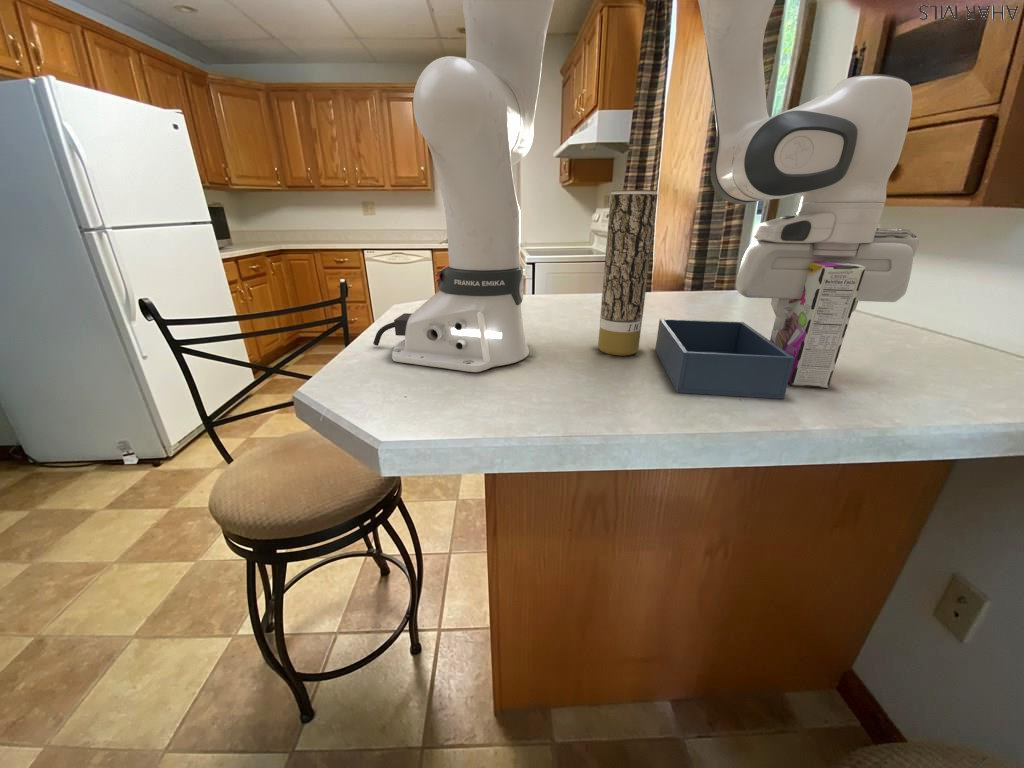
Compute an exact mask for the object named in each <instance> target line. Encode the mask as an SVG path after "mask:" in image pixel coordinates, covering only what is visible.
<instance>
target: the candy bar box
mask: <svg viewBox="0 0 1024 768" xmlns="http://www.w3.org/2000/svg"><path fill="white" fill-rule="evenodd" d="M865 269H866V267H864V266H862V265H858V264H854V263H849V262H836V261H816V262H811V263H810V265H809V268H808V270H809V271H808V275H807V278H806V282H805V286H804V290H803V293H802V296H801V299H789V303H788V306H787V307H784V306H783V309H784V312H785V315H786V316H788V317H789V318H791V319H792V323H791V325H790V326H791V327H790V330H777V329H775V328H774V324H775V321H774V322H773V327H772V331H771V335H770V338H769V340H770V341H771V342H772V343H774V344H775V345H777V346H778V347H780V348H781V349H782V350H784V351H785V352H787V353H788V354H790V355H791V356H793V357H794V358H795V360H794V363H793V367H792V371H791V374H790V378H789V381H788V384H789V385H791V386H795V387H806V388H821V389H823V388H825V389H828V388H829V386H830V383H831V380H832V376H833V374H834V370H835V368H836V364H837V361H838V359H839V355H840V352H841V348H842V345H843V342H844V339H845V336H846V332H847V329H848V326H849V322H850V320H851V317H852V313H853V312H852V310H853V307H854V304H855V300H856V297H857V294H858V290H859V287H860V284H861V281H862V278H863V275H864V271H865ZM775 319H776V316H775V317H774V320H775Z"/></svg>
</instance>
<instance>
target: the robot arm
mask: <svg viewBox="0 0 1024 768" xmlns="http://www.w3.org/2000/svg"><path fill="white" fill-rule="evenodd" d="M554 3H555V0H461V8H462V15H463V20H464V28H465V57H461V56H454V55H453V56H452V55H447V56H446V55H445V56H442V57H439V58H436V59H435V60H433V61H431V62H429V64H428V65H427V66H425V68H424V69H423V70H422V71H421V74H420V75H419V76H418V79H417V81H416V84H415V87H414V90H413V97H412V110H413V116H414V120H415V123H416V125H417V128H418V130H419V132H420V134H421V136H422V138H423V139H424V140H425V142H426V144H427V147H428V149H429V152H430V154H431V158H432V162H433V166H434V169H435V172H436V173H435V174H436V178H437V181H438V185H439V189H440V194H441V197H442V202H443V207H444V212H445V222H446V237H447V238H446V239H447V240H446V241H447V253H448V254H447V255H448V257H447V258H448V264H447V265H446V266H445V265H444V266H443V267H442V268H441V269H440V271H438V272H437V273H436V274H434V277H436V278H435V279H434V282H435V283H437V287H438V289H439V290H438V291H437V292H436V293H434V294H433V295H432V296H431V297H429V298H428V299H427V300H426V301H425V302H424V303H423V304H422V305H420V306H419V307H418V308H417V309H415V310H414V311H413V312H412V313H409V312H408V313H406V312H404V313H402V314H401V315H399V316H398V317H397V318H395V319H394V320H393V322H389V323H386V324H384V325H383V326H381V327H380V328H379V329H378V330H377V332H376V334H375V336H374V340H373V342H372V344H373V345H374V346H377V347H378V346H379V344H380V342H381V339H382V336H383V334H384V333H386V332H387V331H388V330H391V329H393V328H394V332H395V336H399V337H402V336H403V337H404V339H403V340H401V341H399V342H398V343H397V344H395V346H394V347H393V348H392V351H391V359H392V360H393V362H395V363H404V364H411V365H417V366H418V365H419V366H426V367H433V368H440V369H446V370H454V371H455V370H456V371H461V372H468V373H469V372H470V373H480V372H484V371H486V370H488V369H491V368H496V367H500V366H505V365H507V366H508V365H511V364H514V363H517V362H520V361H522V360H524V359H526V358H527V357H528V356H529V354H530V350H529V347H528V343H527V340H526V333H525V329H524V322H523V313H522V303H523V299H524V281H525V280H524V279H525V278H524V270H523V269H524V268H523V267H522V265H521V219H522V216H521V209H520V208H521V207H520V205H519V203H518V198H517V193H516V187H515V181H514V180H515V179H514V174H513V173H514V172H513V166H515V165H516V164H518V163H519V162H521V161H523V159H524V158H525V157H526V156H527V154H528V153H529V151H530V149H531V147H532V145H533V142H534V141H533V140H534V135H535V133H534V131H535V128H534V127H535V126H534V123H535V115H536V108H537V103H538V97H539V90H540V83H541V74H542V67H543V59H544V58H543V57H544V51H545V44H546V40H547V39H546V38H547V33H548V28H549V24H550V20H551V15H552V11H553V8H554ZM697 3H698V7H699V12H700V17H701V23H702V30H703V35H704V39H705V47H706V54H707V64H708V73H709V80H710V88H711V96H712V103H713V104H712V105H713V111H714V118H715V119H714V120H715V128H716V131H715V132H716V135H715V136H716V137H715V145H714V150H713V155H712V159H711V164H710V181H711V184H712V187H713V189H714V191H715V193H716V194H717V195H718V196H719V197H720V198H721V199H723V200H724V201H726V202H727V203H730V204H734V205H749V204H753V203H756V202H760V201H761V202H762V201H771V200H778V199H784V198H788V197H790V196H794V195H797V194H799V196H800V202H799V206H798V208H797V211H796V212H794V213H790V214H787V215H784V216H780V217H776V218H773V219H770V220H766V221H762V222H760V223H758V224H756V226H755V227H754V230H753V237H754V239H756V241H754V242H752V243H751V244H750V245H749V246H748V247H747V249H746V250H745V253H744V255H743V257H742V260H741V262H740V265H739V269H738V272H737V276H736V279H735V289H736V291H737V292H738V294H739V295H740V296H743V297H744V298H749V299H750V298H751V299H754V298H755V299H771V302H770V305H771V308H772V310H773V313H774V315H775V317H776V319H775V318H774V322H775V324H774V323H773V326H774V328H775V329H777V330H790V327H791V326H790V325H791V323H792V319H791V318H789V317H788V316H786V315H785V312H784V309H783V306H784V307H787V306H788V303H789V299H801V296H802V293H803V290H804V286H805V282H806V278H807V275H808V271H809V270H808V268H809V265H810V263H811V262H816V261H836V262H849V263H854V264H858V265H862V266H864V267H866V269H865V271H864V275H863V278H862V281H861V284H860V287H859V290H858V294H857V297H856V300H855V304H854V307H853V310H852V313H854V311H855V310H857V306H858V303H859V302H875V303H896V302H897V301H899V300H900V299H902V298H903V297H904V296H905V295H906V293H907V291H908V287H909V283H910V279H911V274H912V269H913V263H914V257H915V255H916V253H917V250H918V247H919V244H920V239H919V237H918V235H917V234H916V233H915V232H913V231H911V229H910V228H907V227H906V228H905V227H899V228H898V227H897V228H889V227H888V228H887V227H879V223H880V220H881V217H882V214H883V211H884V208H885V205H886V204H885V203H886V201H887V187H888V186H887V185H888V182H889V179H890V176H891V175H892V173H893V171H894V170H895V168H896V167H897V165H898V163H899V161H900V157H901V153H902V150H903V147H904V144H905V139H906V137H907V133H908V129H909V126H910V121H911V115H912V109H913V90H912V87H911V85H910V83H908V81H906V80H904V79H903V78H902V77H900V76H895V75H891V74H885V73H872V74H858V75H854V76H850V77H847V78H845V79H842V80H841V81H839V82H838V83H837V84H836V85H835V86H834V87H832V88H830V89H828V90H827V91H825V92H824V93H822V94H820V95H818V96H816V97H815V98H813V99H811V100H809V101H807V102H805V103H802V104H800V105H798V106H795V107H793V108H791V109H787V110H784V111H782V112H778V113H776V114H773V115H771V116H769V112H768V105H767V89H766V78H765V67H764V40H765V34H766V29H767V25H768V22H769V19H770V17H771V14H772V11H773V9H774V6H775V3H776V0H697ZM909 236H910V237H909Z"/></svg>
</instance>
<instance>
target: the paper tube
mask: <svg viewBox="0 0 1024 768" xmlns="http://www.w3.org/2000/svg"><path fill="white" fill-rule="evenodd" d="M658 196H659V194H658V191H657V190H653V189H649V190H648V189H627V190H611V192H610V199H609V209H608V210H609V211H608V222H607V233H606V247H605V259H604V260H605V261H604V270H603V281H602V293H601V306H600V318H599V330H598V341H597V342H598V343H597V347H598V350H600V351H601V352H602V353H604V354H607V355H612V356H631V355H634V354H636V353H637V352H638V351H639V348H640V340H641V332H642V326H643V325H642V324H643V317H644V316H643V315H644V309H645V308H644V307H645V300H646V293H647V284H648V276H649V270H650V269H649V268H650V260H651V252H652V244H653V235H654V229H655V228H654V227H655V220H656V211H657V204H658Z"/></svg>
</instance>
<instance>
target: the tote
mask: <svg viewBox="0 0 1024 768" xmlns="http://www.w3.org/2000/svg"><path fill="white" fill-rule="evenodd" d="M654 351H655V353H656V355H657V357H658V359H659V361H660V363H661V364H662V366H663V369H664V370H665V372H666V374H667V376H668V378H669V380H670V381H671V383H672V386H673V388H674V389H675V391H676V393H680V394H695V395H711V396H714V395H715V396H726V397H727V396H730V397H743V398H744V397H745V398H760V399H761V398H762V399H777V400H784V399H785V396H786V391H787V388H788V384H789V382H788V381H789V378H790V374H791V371H792V367H793V363H794V360H795V358H794V357H793V356H791V355H790V354H788V353H787V352H785V351H784V350H782V349H781V348H780V347H778V346H777V345H775V344H774V343H772V342H771V341H770V339H768V338H767V337H765V336H764V335H762V334H761V333H759V332H758V331H757V330H755V329H754V328H752V327H751V326H750V325H749V324H747V323H745V322H744V321H729V320H728V321H727V320H726V321H725V320H699V319H677V318H676V319H675V318H674V319H673V318H659V321H658V329H657V335H656V342H655V349H654Z"/></svg>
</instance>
